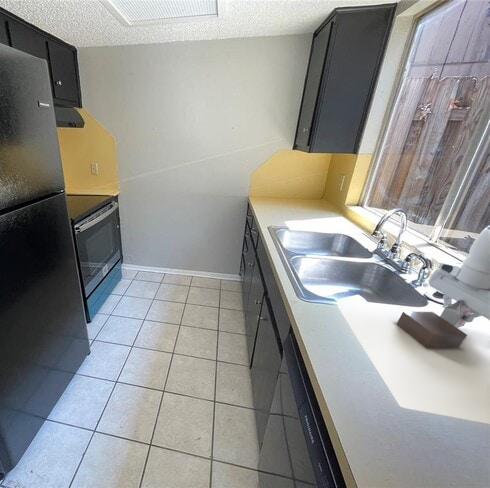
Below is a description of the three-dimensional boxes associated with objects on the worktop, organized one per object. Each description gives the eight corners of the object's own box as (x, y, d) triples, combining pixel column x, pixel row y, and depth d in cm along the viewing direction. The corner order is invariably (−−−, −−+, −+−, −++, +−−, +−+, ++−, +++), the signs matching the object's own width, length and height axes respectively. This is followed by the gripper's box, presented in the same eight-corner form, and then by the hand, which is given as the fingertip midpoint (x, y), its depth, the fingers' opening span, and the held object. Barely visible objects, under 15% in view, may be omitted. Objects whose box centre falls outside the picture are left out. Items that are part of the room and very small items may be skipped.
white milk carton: (436, 322, 83) (451, 296, 79) (449, 318, 85) (464, 293, 81) (451, 330, 80) (467, 303, 76) (463, 325, 82) (480, 299, 78)
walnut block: (425, 323, 84) (432, 311, 82) (458, 347, 75) (467, 334, 73) (396, 323, 83) (403, 311, 81) (426, 347, 74) (434, 334, 72)
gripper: (537, 298, 66) (506, 338, 72) (452, 260, 85) (433, 295, 90) (514, 298, 66) (485, 339, 72) (434, 260, 85) (416, 295, 90)
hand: (455, 314), depth 81 cm, fingers closed on white milk carton, 4 cm apart
